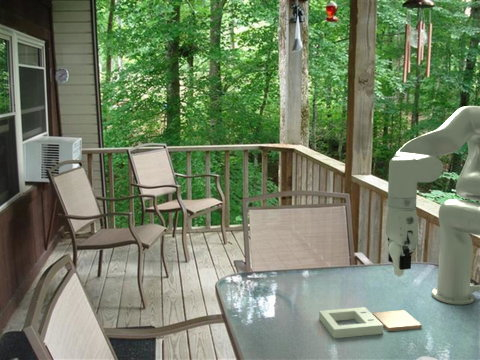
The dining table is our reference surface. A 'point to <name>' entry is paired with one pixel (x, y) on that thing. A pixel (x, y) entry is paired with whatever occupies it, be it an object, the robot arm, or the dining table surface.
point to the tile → (397, 320)
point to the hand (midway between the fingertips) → (399, 264)
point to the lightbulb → (396, 256)
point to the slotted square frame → (361, 315)
